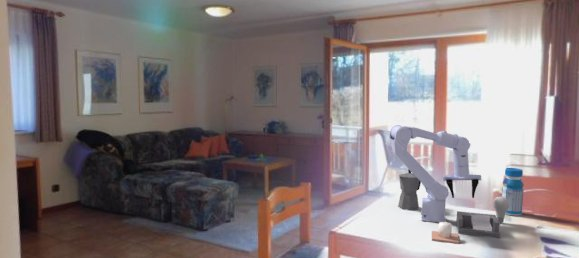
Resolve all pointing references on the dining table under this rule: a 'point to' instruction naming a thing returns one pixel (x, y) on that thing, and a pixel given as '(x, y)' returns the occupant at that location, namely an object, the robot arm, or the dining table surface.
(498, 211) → the lightbulb
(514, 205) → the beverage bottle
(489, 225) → the clip
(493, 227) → the socket block
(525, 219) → the dining table surface
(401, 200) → the coffeepot
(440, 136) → the robot arm
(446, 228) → the plug
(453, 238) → the mat
